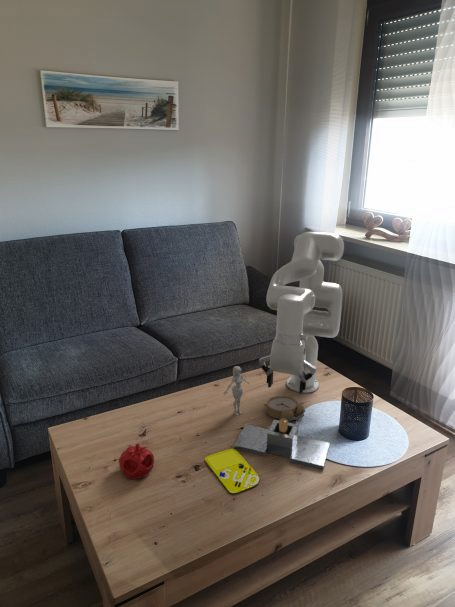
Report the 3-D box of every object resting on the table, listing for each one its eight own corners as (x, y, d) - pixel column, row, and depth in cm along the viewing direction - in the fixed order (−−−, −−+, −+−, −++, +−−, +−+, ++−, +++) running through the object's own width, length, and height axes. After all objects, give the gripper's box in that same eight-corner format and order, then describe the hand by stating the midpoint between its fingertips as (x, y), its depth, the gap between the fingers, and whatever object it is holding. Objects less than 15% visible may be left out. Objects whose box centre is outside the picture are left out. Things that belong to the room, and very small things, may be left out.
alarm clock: (281, 392, 179) (312, 403, 167) (282, 405, 180) (313, 416, 168) (259, 402, 173) (289, 414, 161) (260, 415, 174) (290, 428, 162)
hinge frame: (245, 428, 162) (246, 410, 160) (329, 446, 153) (331, 428, 151) (233, 448, 152) (234, 429, 149) (323, 470, 143) (325, 450, 140)
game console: (201, 460, 147) (201, 456, 146) (233, 450, 152) (233, 446, 151) (231, 498, 132) (231, 493, 132) (265, 484, 137) (265, 480, 137)
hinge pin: (278, 444, 154) (280, 417, 151) (286, 446, 153) (288, 419, 150) (276, 449, 152) (278, 422, 148) (284, 451, 151) (286, 423, 147)
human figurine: (227, 421, 166) (228, 374, 160) (220, 416, 169) (220, 370, 163) (252, 408, 174) (253, 363, 168) (244, 404, 176) (246, 360, 170)
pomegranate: (117, 464, 144) (115, 438, 141) (150, 457, 147) (149, 431, 144) (122, 486, 135) (120, 458, 132) (157, 478, 138) (156, 450, 135)
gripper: (321, 336, 140) (316, 387, 146) (263, 327, 146) (261, 377, 152) (316, 346, 133) (312, 400, 139) (256, 337, 139) (254, 389, 145)
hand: (285, 388), depth 145 cm, fingers open, 9 cm apart
